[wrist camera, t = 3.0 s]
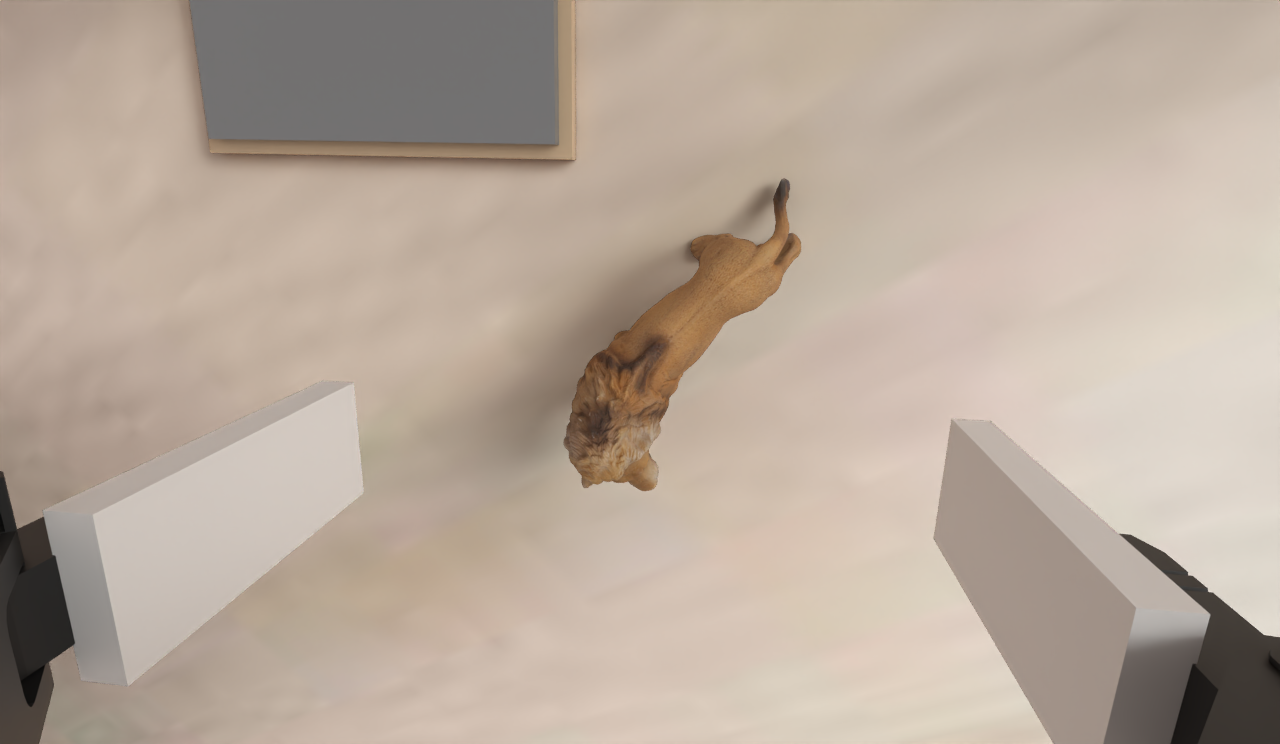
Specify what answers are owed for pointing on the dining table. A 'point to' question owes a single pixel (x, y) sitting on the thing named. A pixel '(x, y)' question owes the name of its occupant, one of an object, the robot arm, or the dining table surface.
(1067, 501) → the robot arm
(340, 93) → the pad
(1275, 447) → the dining table surface
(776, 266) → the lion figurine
